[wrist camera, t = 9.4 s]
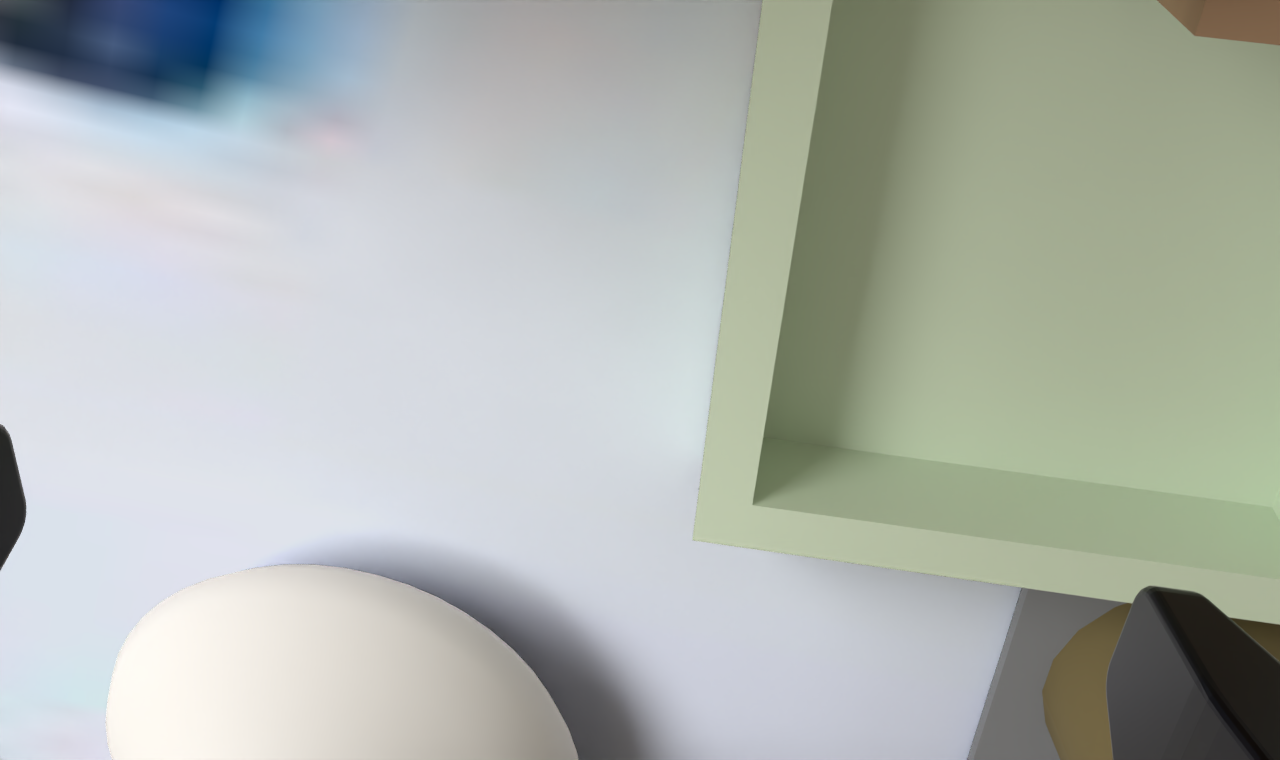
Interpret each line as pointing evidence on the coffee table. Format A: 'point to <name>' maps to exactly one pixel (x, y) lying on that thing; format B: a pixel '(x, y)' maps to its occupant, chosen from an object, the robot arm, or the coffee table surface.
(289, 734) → the flower in vase
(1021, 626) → the pad
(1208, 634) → the robot arm
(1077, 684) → the cork
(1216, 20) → the walnut block
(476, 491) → the coffee table surface
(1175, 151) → the tray
